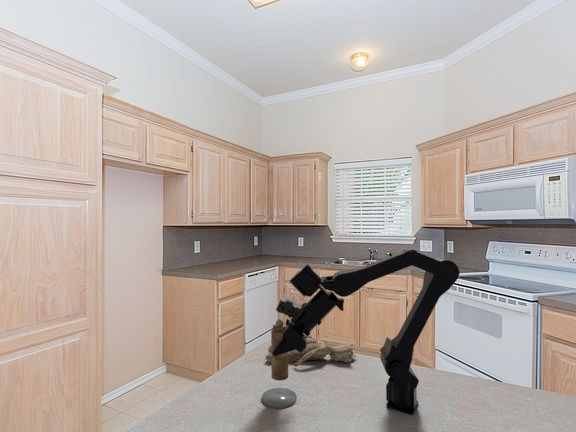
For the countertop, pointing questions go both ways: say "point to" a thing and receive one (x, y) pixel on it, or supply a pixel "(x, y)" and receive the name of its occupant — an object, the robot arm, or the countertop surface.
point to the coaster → (279, 397)
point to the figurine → (319, 352)
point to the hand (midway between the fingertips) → (274, 351)
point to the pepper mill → (280, 361)
